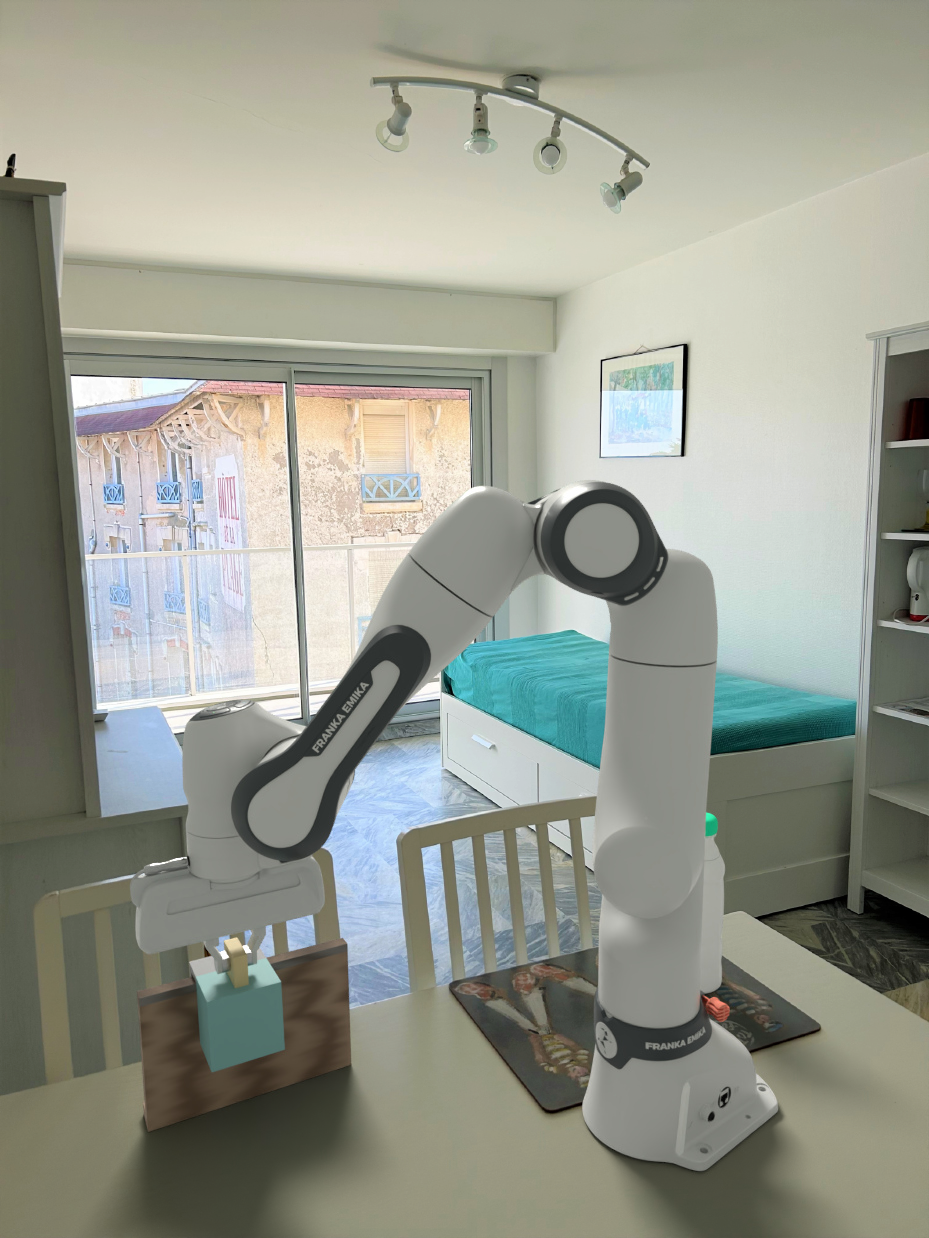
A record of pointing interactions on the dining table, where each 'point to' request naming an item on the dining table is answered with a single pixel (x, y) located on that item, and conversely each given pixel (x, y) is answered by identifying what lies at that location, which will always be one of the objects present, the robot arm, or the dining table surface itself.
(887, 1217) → the dining table surface
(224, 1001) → the key box
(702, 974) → the water bottle
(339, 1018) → the wall board
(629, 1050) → the robot arm
